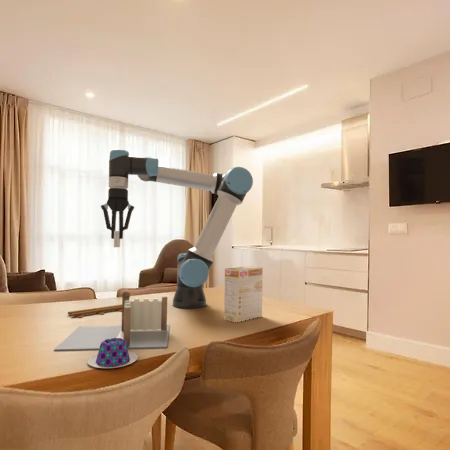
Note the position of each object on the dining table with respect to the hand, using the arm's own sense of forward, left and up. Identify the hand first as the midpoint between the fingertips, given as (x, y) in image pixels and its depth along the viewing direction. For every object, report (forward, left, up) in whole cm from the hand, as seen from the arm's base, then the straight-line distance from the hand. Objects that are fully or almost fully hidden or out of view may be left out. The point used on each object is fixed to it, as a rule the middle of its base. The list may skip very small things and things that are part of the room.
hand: (116, 247), depth 137 cm
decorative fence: (+6, -3, -27) cm, 28 cm away
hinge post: (-8, +27, -26) cm, 39 cm away
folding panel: (-10, +36, -26) cm, 45 cm away
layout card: (-7, +32, -26) cm, 42 cm away
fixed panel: (-15, +27, -26) cm, 41 cm away
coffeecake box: (-50, +11, -27) cm, 58 cm away
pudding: (-9, +52, -27) cm, 59 cm away
